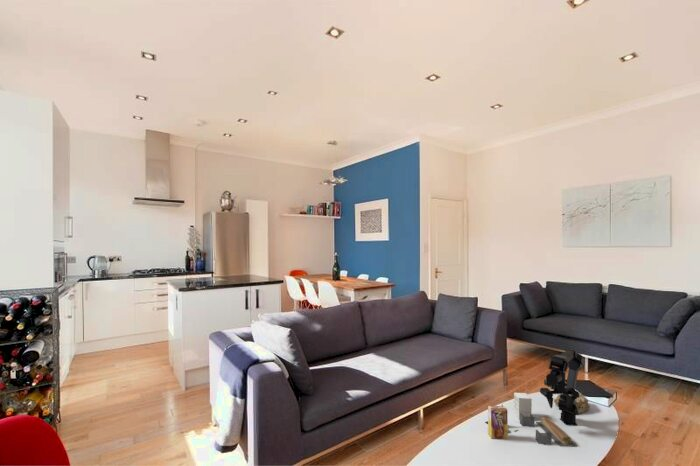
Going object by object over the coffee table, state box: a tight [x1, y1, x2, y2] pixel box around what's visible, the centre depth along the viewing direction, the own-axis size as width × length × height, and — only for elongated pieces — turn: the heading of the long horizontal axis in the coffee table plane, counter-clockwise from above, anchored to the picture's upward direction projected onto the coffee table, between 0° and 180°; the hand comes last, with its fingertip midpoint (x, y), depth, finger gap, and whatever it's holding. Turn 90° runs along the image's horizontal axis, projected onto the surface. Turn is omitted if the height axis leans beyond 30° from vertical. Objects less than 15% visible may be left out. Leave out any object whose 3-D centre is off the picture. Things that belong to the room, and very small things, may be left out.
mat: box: [535, 421, 578, 448], centre depth 178 cm, size 9×22×1 cm, turn 179°
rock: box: [553, 391, 591, 415], centre depth 207 cm, size 21×14×10 cm
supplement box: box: [513, 392, 533, 420], centre depth 195 cm, size 7×7×13 cm
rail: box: [541, 416, 572, 445], centre depth 178 cm, size 4×20×4 cm, turn 0°
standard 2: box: [535, 429, 553, 445], centre depth 170 cm, size 7×3×6 cm, turn 89°
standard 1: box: [519, 414, 536, 428], centre depth 186 cm, size 7×3×6 cm, turn 89°
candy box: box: [487, 405, 509, 440], centre depth 174 cm, size 9×4×15 cm, turn 89°
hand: (559, 408), depth 182 cm, fingers open, 9 cm apart
